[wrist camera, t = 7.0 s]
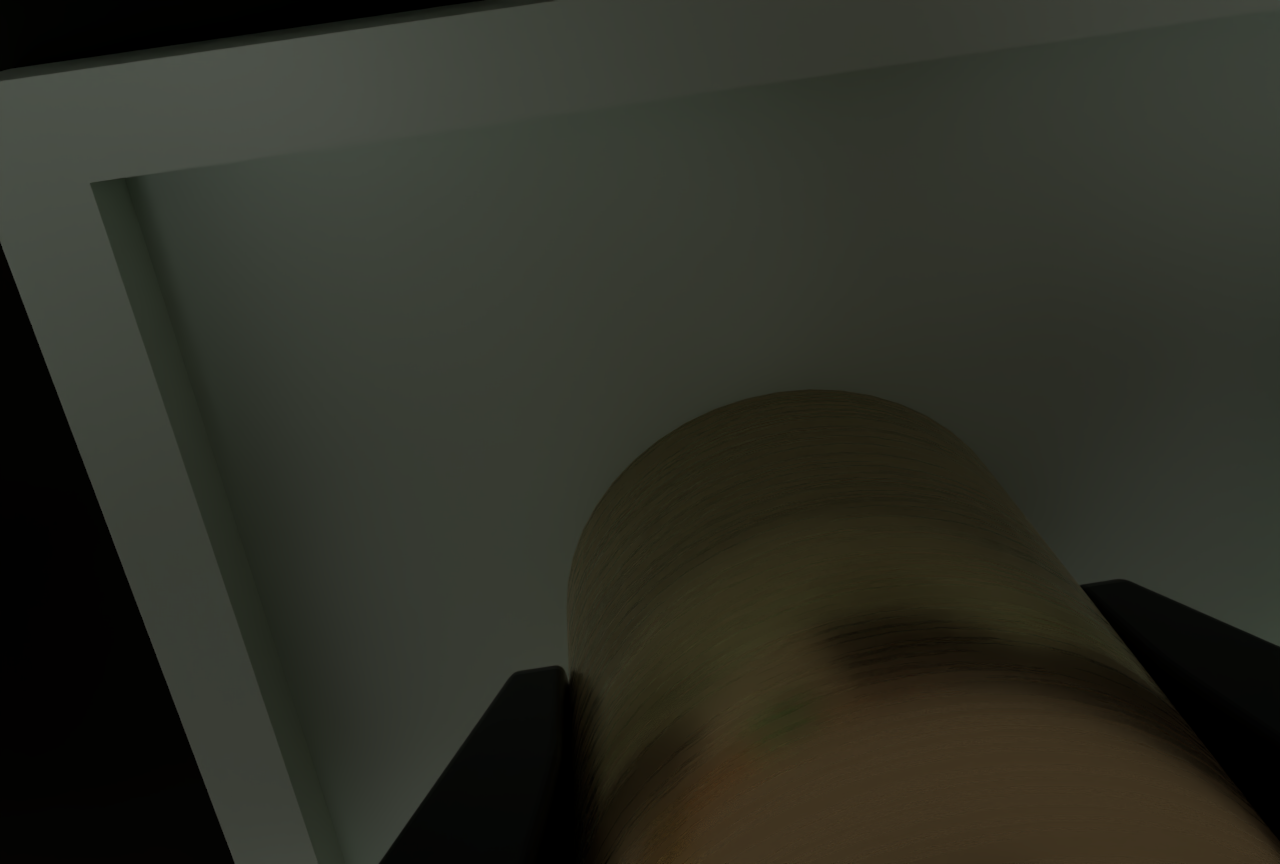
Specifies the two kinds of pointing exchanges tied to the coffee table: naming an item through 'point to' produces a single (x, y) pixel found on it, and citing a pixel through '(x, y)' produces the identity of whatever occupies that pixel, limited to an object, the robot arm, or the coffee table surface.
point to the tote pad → (621, 321)
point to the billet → (861, 665)
